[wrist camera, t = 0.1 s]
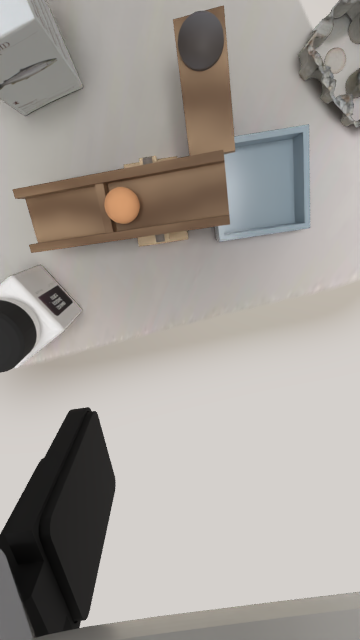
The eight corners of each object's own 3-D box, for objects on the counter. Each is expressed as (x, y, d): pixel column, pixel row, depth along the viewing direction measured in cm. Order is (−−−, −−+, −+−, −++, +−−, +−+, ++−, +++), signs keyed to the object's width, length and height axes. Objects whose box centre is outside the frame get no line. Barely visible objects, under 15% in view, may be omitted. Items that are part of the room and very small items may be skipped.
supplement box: (24, 118, 34) (-57, 66, 22) (-14, 39, 31) (-128, -68, 19) (86, 90, 33) (36, 19, 21) (52, 6, 31) (-26, -126, 19)
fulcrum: (124, 165, 35) (115, 156, 29) (177, 157, 35) (177, 146, 29) (139, 246, 38) (133, 251, 32) (188, 238, 38) (190, 243, 32)
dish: (205, 147, 35) (209, 140, 32) (296, 132, 35) (309, 124, 32) (215, 239, 38) (219, 241, 35) (298, 226, 38) (310, 227, 35)
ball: (107, 190, 30) (95, 188, 27) (139, 185, 29) (131, 182, 26) (114, 225, 31) (104, 227, 28) (145, 220, 30) (138, 221, 27)
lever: (-4, 75, 29) (-26, 63, 26) (224, 12, 25) (223, -8, 22) (47, 256, 34) (33, 260, 32) (241, 229, 30) (242, 232, 28)
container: (40, 263, 39) (-21, 286, 26) (83, 310, 41) (45, 351, 28) (-2, 300, 40) (-80, 338, 28) (42, 343, 42) (-13, 397, 30)
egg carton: (285, 64, 33) (300, 43, 29) (342, -3, 31) (365, -34, 27) (347, 141, 35) (368, 132, 31) (403, 83, 34) (433, 66, 30)
